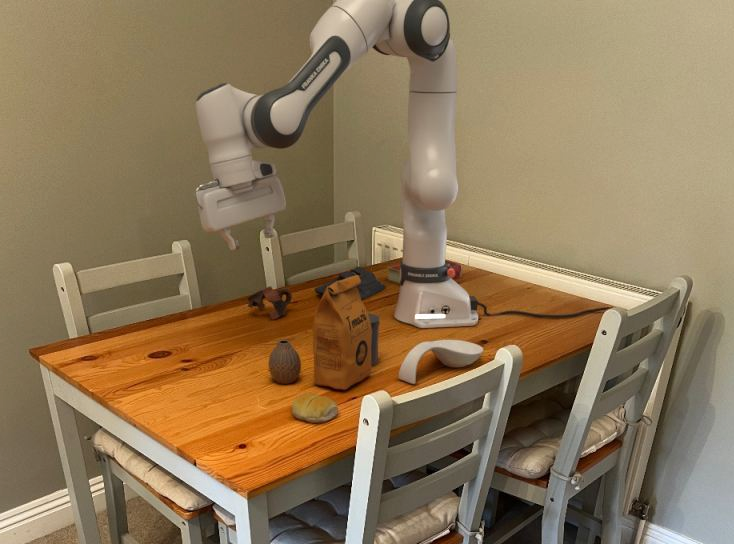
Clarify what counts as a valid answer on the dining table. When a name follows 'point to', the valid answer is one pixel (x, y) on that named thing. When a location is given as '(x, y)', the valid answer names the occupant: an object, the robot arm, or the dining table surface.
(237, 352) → the dining table surface
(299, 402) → the bread roll
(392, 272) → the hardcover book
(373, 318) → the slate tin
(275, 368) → the vase
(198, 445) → the dining table surface
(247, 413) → the dining table surface
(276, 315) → the brown grey irregular piece
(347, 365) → the coffee package
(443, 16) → the robot arm
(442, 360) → the spoon rest
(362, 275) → the folded navy cloth
